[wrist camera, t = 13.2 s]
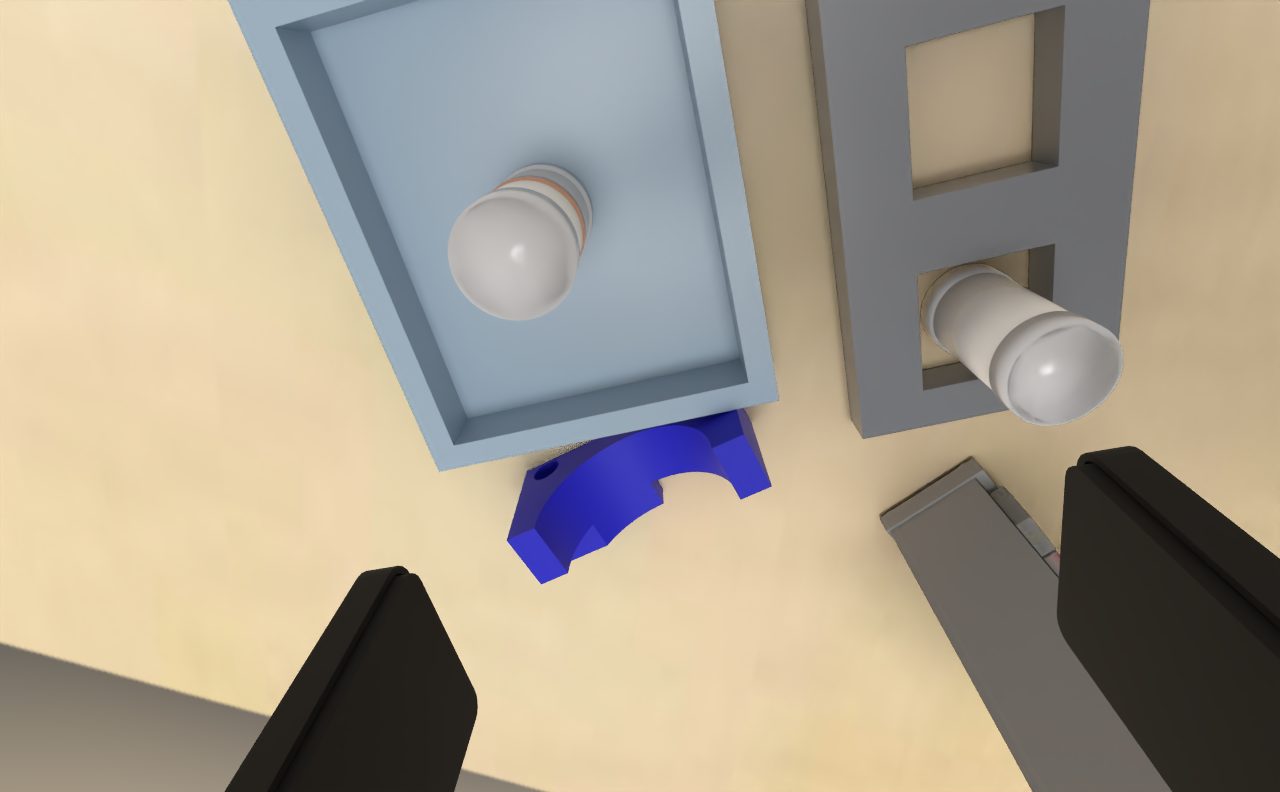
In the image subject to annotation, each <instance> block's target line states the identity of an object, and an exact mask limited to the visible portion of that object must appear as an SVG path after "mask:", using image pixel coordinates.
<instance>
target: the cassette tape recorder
mask: <svg viewBox="0 0 1280 792" xmlns="http://www.w3.org/2000/svg"><path fill="white" fill-rule="evenodd" d="M880 520H881V522H882V524H883V525H884V527H885V529H886V531H887V532H888V533H889V534H890V535H891V536H892V537H893V538H894V540H895V542H896V544H897V545H898V547H899V549H900V551H901V553H902V554H903V556H904V558H905V560H906V562H907V564H908V565H909V567H910V569H911V571H912V573H913V575H914V576H915V578H916V580H917V582H918V584H919V585H920V587H921V589H922V591H923V593H924V595H925V596H926V598H927V600H928V602H929V604H930V606H931V607H932V609H933V611H934V613H935V615H936V616H937V618H938V620H939V622H940V624H941V626H942V627H943V629H944V631H945V633H946V635H947V637H948V638H949V640H950V642H951V644H952V646H953V647H954V649H955V651H956V653H957V655H958V657H959V658H960V660H961V662H962V664H963V666H964V668H965V669H966V671H967V673H968V675H969V677H970V678H971V680H972V682H973V684H974V686H975V688H976V689H977V691H978V693H979V695H980V697H981V699H982V700H983V702H984V704H985V706H986V708H987V709H988V711H989V713H990V715H991V717H992V719H993V720H994V722H995V724H996V726H997V728H998V730H999V731H1000V733H1001V735H1002V737H1003V739H1004V740H1005V742H1006V744H1007V746H1008V748H1009V750H1010V751H1011V753H1012V755H1013V757H1014V759H1015V760H1016V762H1017V764H1018V766H1019V768H1020V770H1021V771H1022V773H1023V775H1024V777H1025V779H1026V781H1027V782H1028V784H1029V786H1030V788H1031V790H1032V791H1033V792H1172V791H1171V790H1170V788H1169V787H1168V785H1167V784H1166V782H1165V781H1164V780H1163V778H1162V777H1161V775H1160V774H1159V773H1158V771H1157V770H1156V768H1155V767H1154V766H1153V764H1152V763H1151V761H1150V760H1149V758H1148V757H1147V756H1146V754H1145V753H1144V751H1143V750H1142V749H1141V747H1140V746H1139V744H1138V743H1137V742H1136V740H1135V739H1134V737H1133V736H1132V734H1131V733H1130V732H1129V730H1128V729H1127V727H1126V726H1125V725H1124V723H1123V722H1122V720H1121V719H1120V717H1119V716H1118V715H1117V713H1116V712H1115V710H1114V709H1113V708H1112V706H1111V705H1110V703H1109V702H1108V701H1107V699H1106V698H1105V696H1104V695H1103V693H1102V692H1101V691H1100V689H1099V688H1098V686H1097V685H1096V684H1095V682H1094V681H1093V679H1092V678H1091V677H1090V675H1089V674H1088V672H1087V671H1086V669H1085V668H1084V667H1083V665H1082V664H1081V662H1080V661H1079V660H1078V658H1077V657H1076V655H1075V654H1074V653H1073V651H1072V650H1071V648H1070V647H1069V645H1068V644H1067V643H1066V641H1065V639H1064V638H1063V635H1062V633H1061V631H1060V628H1059V625H1058V621H1057V598H1058V583H1059V567H1060V555H1059V554H1058V553H1057V552H1056V550H1055V549H1056V548H1055V547H1054V546H1053V544H1052V543H1051V542H1050V541H1049V539H1048V538H1047V537H1046V535H1045V534H1044V533H1043V532H1042V530H1041V529H1040V528H1039V527H1038V525H1037V524H1036V523H1035V522H1034V520H1033V519H1032V518H1031V516H1030V515H1029V514H1028V513H1027V512H1026V511H1025V510H1024V509H1023V507H1022V506H1021V505H1020V504H1019V503H1018V502H1017V501H1016V500H1015V498H1014V497H1013V496H1012V495H1011V494H1010V493H1009V492H1008V491H1007V489H1006V488H1005V487H1004V486H1002V487H1000V488H998V487H997V486H996V485H995V484H994V482H993V481H992V480H991V479H990V477H989V476H988V475H987V473H986V472H985V471H984V470H983V469H982V467H981V466H980V465H979V464H978V463H977V462H976V461H975V459H974V458H972V459H971V460H969V461H968V462H965V463H962V464H961V465H959V467H958V468H957V469H955V470H954V471H952V472H951V473H949V474H947V475H946V476H944V477H943V478H941V479H940V480H938V481H937V482H935V483H933V484H932V485H930V486H929V487H927V488H926V489H924V490H923V491H921V492H919V493H918V494H916V495H915V496H913V497H912V498H910V499H909V500H907V501H905V502H904V503H902V504H901V505H899V506H898V507H896V508H894V509H893V510H890V511H888V512H887V513H886V514H885V515H884V516H882V517H880Z"/></svg>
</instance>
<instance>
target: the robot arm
mask: <svg viewBox="0 0 1280 792" xmlns="http://www.w3.org/2000/svg"><path fill="white" fill-rule="evenodd" d="M1057 621H1058V625H1059V628H1060V631H1061V633H1062V635H1063V638H1064V639H1065V641H1066V643H1067V644H1068V645H1069V647H1070V648H1071V650H1072V651H1073V653H1074V654H1075V655H1076V657H1077V658H1078V660H1079V661H1080V662H1081V664H1082V665H1083V667H1084V668H1085V669H1086V671H1087V672H1088V674H1089V675H1090V677H1091V678H1092V679H1093V681H1094V682H1095V684H1096V685H1097V686H1098V688H1099V689H1100V691H1101V692H1102V693H1103V695H1104V696H1105V698H1106V699H1107V701H1108V702H1109V703H1110V705H1111V706H1112V708H1113V709H1114V710H1115V712H1116V713H1117V715H1118V716H1119V717H1120V719H1121V720H1122V722H1123V723H1124V725H1125V726H1126V727H1127V729H1128V730H1129V732H1130V733H1131V734H1132V736H1133V737H1134V739H1135V740H1136V742H1137V743H1138V744H1139V746H1140V747H1141V749H1142V750H1143V751H1144V753H1145V754H1146V756H1147V757H1148V758H1149V760H1150V761H1151V763H1152V764H1153V766H1154V767H1155V768H1156V770H1157V771H1158V773H1159V774H1160V775H1161V777H1162V778H1163V780H1164V781H1165V782H1166V784H1167V785H1168V787H1169V788H1170V790H1171V791H1172V792H1280V559H1279V558H1278V557H1277V556H1276V555H1274V554H1273V553H1272V552H1270V551H1269V550H1268V549H1267V548H1265V547H1264V546H1263V545H1261V544H1260V543H1259V542H1258V541H1256V540H1255V539H1254V538H1253V537H1251V536H1250V535H1249V534H1247V533H1246V532H1245V531H1244V530H1242V529H1241V528H1240V527H1238V526H1237V525H1236V524H1235V523H1233V522H1232V521H1231V520H1230V519H1228V518H1227V517H1226V516H1224V515H1223V514H1222V513H1221V512H1219V511H1218V510H1217V509H1216V508H1214V507H1213V506H1212V505H1210V504H1209V503H1208V502H1207V501H1205V500H1204V499H1203V498H1201V497H1200V496H1199V495H1198V494H1196V493H1195V492H1194V491H1193V490H1191V489H1190V488H1189V487H1187V486H1186V485H1185V484H1184V483H1182V482H1181V481H1180V480H1178V479H1177V478H1176V477H1175V476H1173V475H1172V474H1171V473H1170V472H1168V471H1167V470H1166V469H1164V468H1163V467H1162V466H1161V465H1159V464H1158V463H1157V462H1156V461H1154V460H1153V459H1152V458H1150V457H1149V456H1148V455H1147V454H1145V453H1144V452H1143V451H1141V450H1140V449H1138V448H1136V447H1133V446H1126V447H1119V448H1113V449H1107V450H1101V451H1095V452H1089V453H1085V454H1083V455H1081V456H1080V458H1079V459H1078V462H1077V466H1072V467H1070V468H1068V470H1067V471H1066V475H1065V488H1064V504H1063V520H1062V535H1061V551H1060V567H1059V583H1058V598H1057ZM477 708H478V705H477V696H476V693H475V690H474V688H473V686H472V684H471V682H470V680H469V678H468V676H467V673H466V671H465V669H464V667H463V665H462V663H461V661H460V659H459V657H458V655H457V653H456V651H455V649H454V647H453V645H452V643H451V641H450V639H449V637H448V635H447V632H446V630H445V628H444V626H443V624H442V622H441V620H440V618H439V616H438V614H437V612H436V610H435V608H434V606H433V604H432V602H431V600H430V598H429V596H428V594H427V592H426V589H425V587H424V585H423V583H422V581H421V579H420V578H419V576H417V575H416V574H413V573H411V574H410V573H409V572H408V570H407V569H406V568H404V567H403V566H394V567H388V568H382V569H376V570H370V571H365V572H363V573H361V575H360V576H359V577H358V578H357V579H356V581H355V583H354V584H353V586H352V588H351V589H350V591H349V592H348V594H347V596H346V597H345V599H344V600H343V602H342V604H341V605H340V607H339V608H338V610H337V612H336V613H335V615H334V616H333V618H332V620H331V621H330V623H329V624H328V626H327V628H326V629H325V631H324V633H323V634H322V636H321V637H320V639H319V641H318V642H317V644H316V645H315V647H314V649H313V650H312V652H311V653H310V655H309V657H308V658H307V660H306V661H305V663H304V665H303V666H302V668H301V670H300V671H299V673H298V674H297V676H296V678H295V679H294V681H293V682H292V684H291V686H290V687H289V689H288V690H287V692H286V694H285V695H284V697H283V698H282V700H281V702H280V703H279V705H278V707H277V708H276V710H275V711H274V713H273V715H272V716H271V718H270V719H269V721H268V723H267V724H266V726H265V727H264V729H263V731H262V732H261V734H260V736H259V737H258V739H257V740H256V742H255V743H254V745H253V747H252V748H251V750H250V752H249V753H248V755H247V756H246V758H245V760H244V761H243V763H242V764H241V766H240V768H239V770H238V771H237V773H236V774H235V776H234V778H233V779H232V781H231V782H230V784H229V785H228V787H227V789H226V790H225V792H454V790H455V787H456V784H457V780H458V777H459V774H460V770H461V767H462V764H463V760H464V757H465V754H466V750H467V747H468V744H469V740H470V737H471V734H472V730H473V727H474V724H475V720H476V716H477Z"/></svg>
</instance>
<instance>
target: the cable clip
mask: <svg viewBox="0 0 1280 792" xmlns="http://www.w3.org/2000/svg"><path fill="white" fill-rule="evenodd" d="M685 472H708V473H713V474H716V475H719V476H722V477H723V478H725V479H727V480H728V481H729V482H731V483H732V485H733V487H734V489H735V490H736V492H737V494H738V496H739V497H740V499H743V498H746V497H748V496H750V495H753V494H755V493H757V492H760V491H762V490H764V489H767V488H769V487H771V483H770V480H769V476H768V473H767V470H766V467H765V464H764V461H763V458H762V454H761V451H760V448H759V445H758V442H757V439H756V436H755V433H754V429H753V426H752V423H751V421H750V419H749V417H748V415H747V414H746V412H745V410H744V408H741V409H736V410H731V411H726V412H722V413H717V414H712V415H707V416H703V417H698V418H693V419H688V420H684V421H679V422H674V423H669V424H664V425H660V426H655V427H650V428H645V429H641V430H636V431H631V432H626V433H622V434H617V435H612V436H607V437H602V438H598V439H595V440H593V441H591V442H588V443H586V444H584V445H582V446H580V447H578V448H576V449H574V450H571V451H569V452H567V453H565V454H563V455H561V456H559V457H557V458H554V459H552V460H550V461H548V462H546V463H544V464H542V465H540V466H537V467H535V468H533V469H531V470H529V471H527V473H526V477H525V480H524V483H523V487H522V490H521V494H520V497H519V501H518V504H517V507H516V511H515V514H514V518H513V521H512V524H511V528H510V531H509V535H508V538H507V541H508V543H509V544H510V545H511V546H512V548H513V549H514V550H515V552H516V553H517V554H518V555H519V557H520V558H521V559H522V560H523V562H524V563H525V564H526V566H527V567H528V568H529V569H530V571H531V572H532V573H533V575H534V576H535V577H536V578H537V580H538V581H539V582H540V583H541V584H543V583H546V582H548V581H550V580H553V579H555V578H557V577H560V576H562V575H564V574H567V573H568V570H569V566H570V563H571V561H572V560H574V559H577V558H579V557H581V556H584V555H586V554H588V553H591V552H593V551H595V550H598V549H600V548H602V547H605V546H607V545H608V544H609V543H610V542H611V541H612V540H613V539H614V537H615V536H616V535H618V534H619V533H620V532H621V531H622V530H623V529H624V528H625V527H626V526H628V525H629V524H630V523H631V522H633V521H634V520H635V519H637V518H638V517H640V516H641V515H643V514H645V513H646V512H648V511H650V510H651V509H653V508H655V507H657V506H659V505H661V504H663V489H662V487H661V485H660V484H659V482H658V481H657V480H658V479H661V478H664V477H667V476H670V475H675V474H679V473H685Z"/></svg>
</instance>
